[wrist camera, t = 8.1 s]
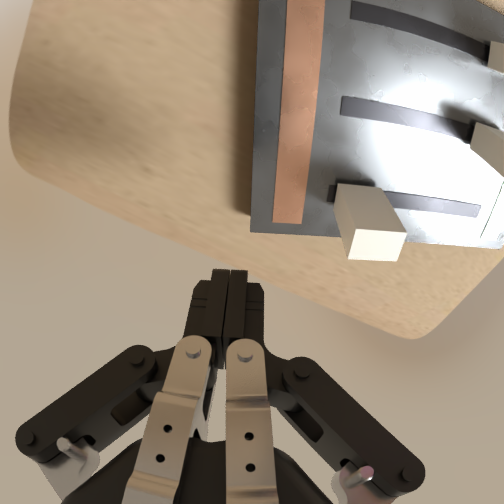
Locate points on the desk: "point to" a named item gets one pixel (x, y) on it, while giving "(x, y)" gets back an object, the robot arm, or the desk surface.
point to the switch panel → (377, 115)
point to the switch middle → (489, 146)
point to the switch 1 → (368, 223)
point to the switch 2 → (496, 57)
